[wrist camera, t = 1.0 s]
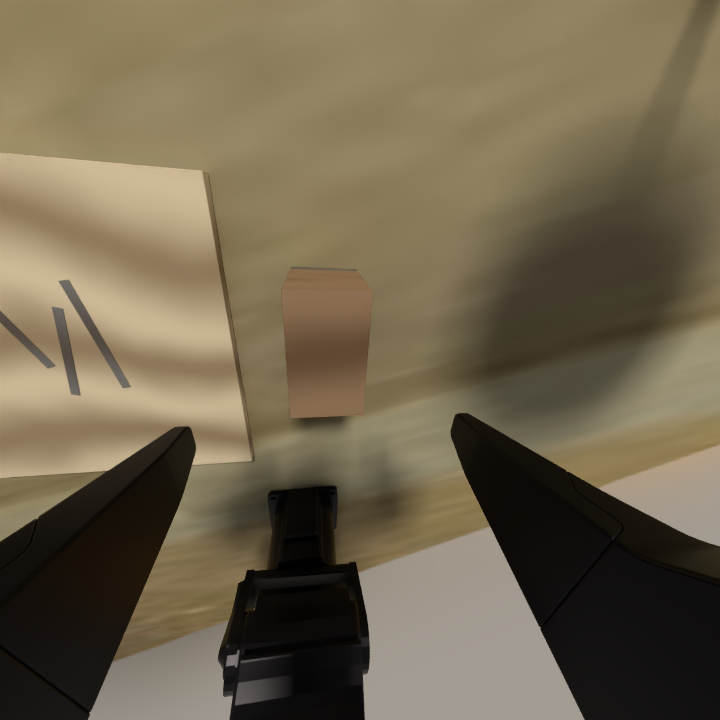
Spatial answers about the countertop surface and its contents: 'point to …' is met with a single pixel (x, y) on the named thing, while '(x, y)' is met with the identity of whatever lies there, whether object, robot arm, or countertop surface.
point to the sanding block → (326, 340)
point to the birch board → (112, 317)
